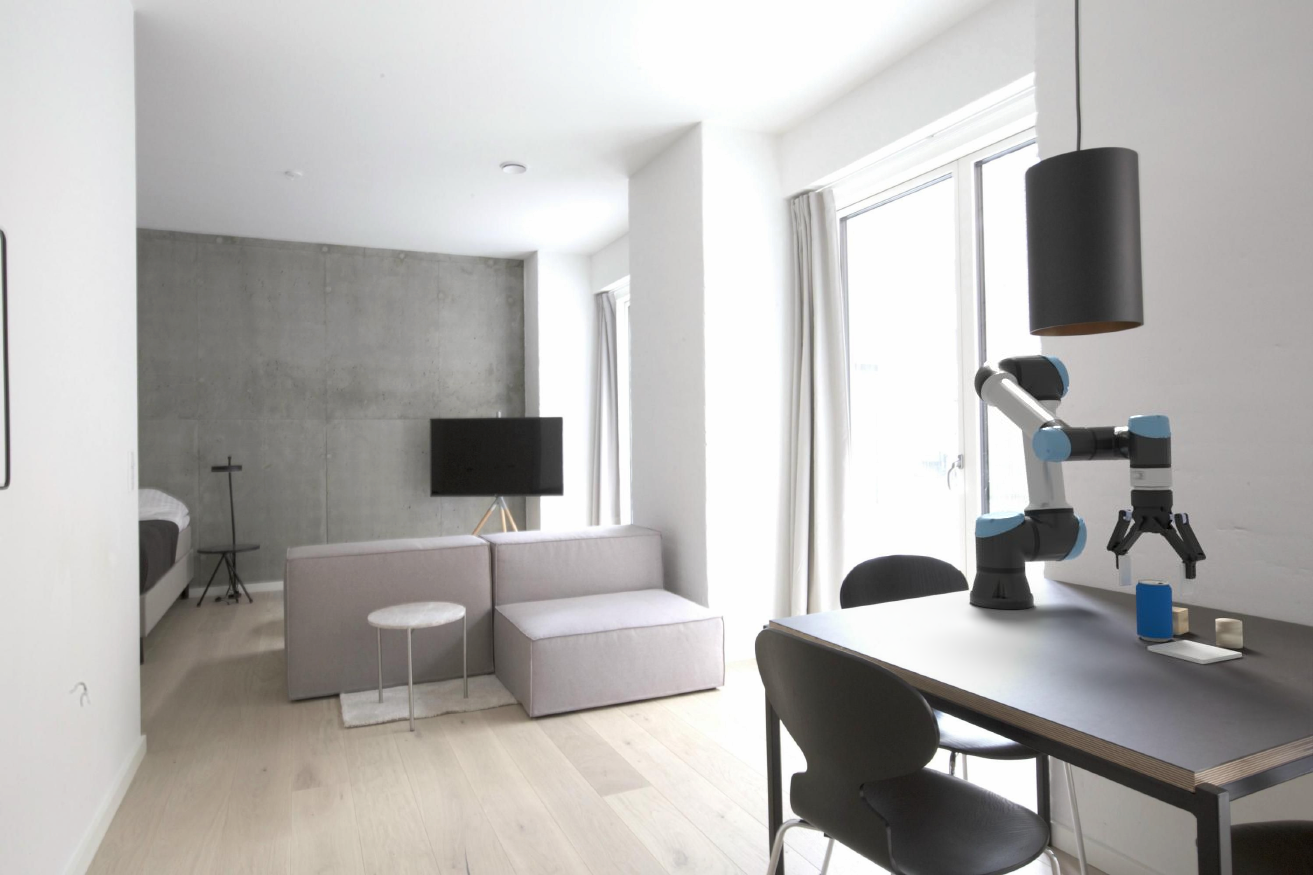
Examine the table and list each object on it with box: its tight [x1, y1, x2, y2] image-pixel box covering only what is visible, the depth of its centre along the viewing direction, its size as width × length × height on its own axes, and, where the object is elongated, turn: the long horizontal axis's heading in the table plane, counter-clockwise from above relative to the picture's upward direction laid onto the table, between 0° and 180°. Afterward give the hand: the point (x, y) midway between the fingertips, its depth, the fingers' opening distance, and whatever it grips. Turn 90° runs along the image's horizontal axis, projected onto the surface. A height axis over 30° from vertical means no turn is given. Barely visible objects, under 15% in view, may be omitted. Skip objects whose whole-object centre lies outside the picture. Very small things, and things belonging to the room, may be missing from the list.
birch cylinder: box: [1215, 617, 1244, 649], centre depth 162 cm, size 4×4×5 cm
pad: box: [1147, 639, 1243, 665], centre depth 157 cm, size 11×11×1 cm
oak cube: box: [1172, 606, 1190, 636], centre depth 175 cm, size 5×5×5 cm
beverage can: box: [1135, 578, 1174, 643], centre depth 168 cm, size 6×6×12 cm
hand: (1155, 590), depth 168 cm, fingers open, 13 cm apart
